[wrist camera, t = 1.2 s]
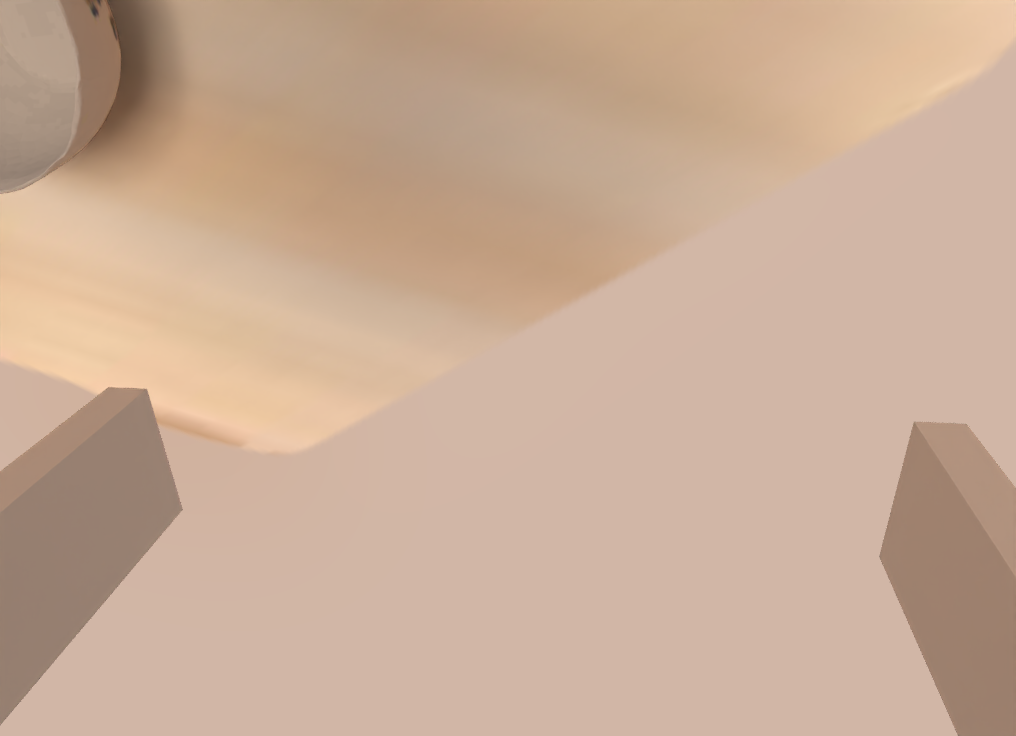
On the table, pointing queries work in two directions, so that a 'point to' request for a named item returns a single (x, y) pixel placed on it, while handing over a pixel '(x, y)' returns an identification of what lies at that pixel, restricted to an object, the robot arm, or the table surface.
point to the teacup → (53, 83)
